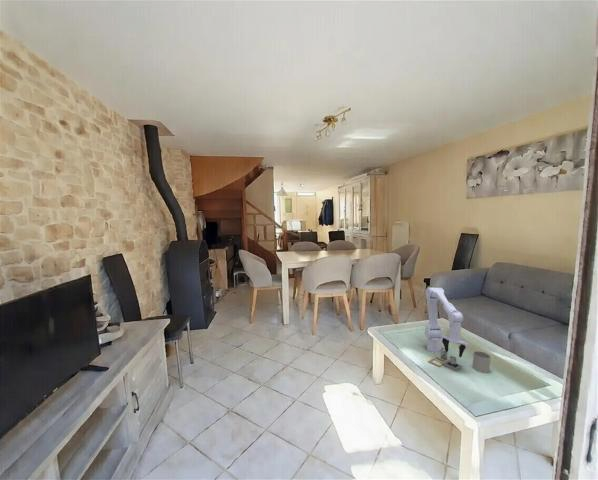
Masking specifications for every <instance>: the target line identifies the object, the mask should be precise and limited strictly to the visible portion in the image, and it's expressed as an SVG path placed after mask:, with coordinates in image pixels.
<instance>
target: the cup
mask: <svg viewBox="0 0 598 480" xmlns="http://www.w3.org/2000/svg"><path fill="white" fill-rule="evenodd" d="M472 354H473V355H472V369H474V370H475V371H476V372H479V373H482V374H488V373H490V368H491V367H490V366H491V355H489V354H488V353H486V352H484V351H479V350H476V351H473V353H472Z"/></svg>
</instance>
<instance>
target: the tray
mask: <svg viewBox="0 0 598 480" xmlns="http://www.w3.org/2000/svg"><path fill="white" fill-rule="evenodd" d="M433 361H435V362H438V363H439V364H437V363H435V362H433ZM446 362H448V361H447V360H444V359H442V358H441V357H438V356H434V357H432V358H431V359H429V360H427V363H429V364H430V365H433V366H435V367H438V368H441V367H442V366H444V364H445V363H446Z"/></svg>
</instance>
